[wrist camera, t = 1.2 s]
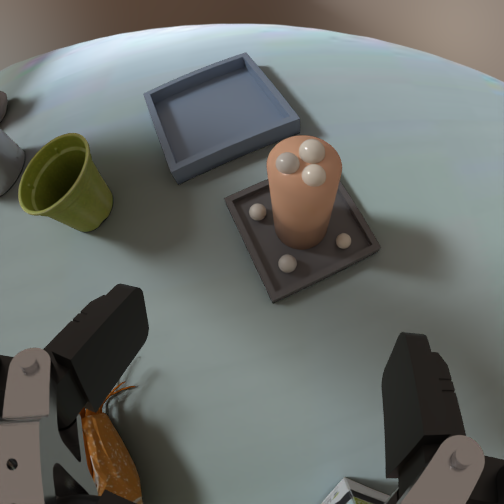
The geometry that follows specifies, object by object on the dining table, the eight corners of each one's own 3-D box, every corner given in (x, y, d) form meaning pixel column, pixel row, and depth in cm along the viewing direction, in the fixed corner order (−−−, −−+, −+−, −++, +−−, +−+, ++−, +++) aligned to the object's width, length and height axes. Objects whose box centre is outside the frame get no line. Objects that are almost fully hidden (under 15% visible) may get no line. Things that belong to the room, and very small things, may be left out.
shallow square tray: (178, 184, 33) (170, 172, 31) (149, 106, 38) (143, 93, 36) (299, 132, 34) (300, 118, 32) (248, 65, 39) (246, 52, 36)
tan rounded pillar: (288, 258, 29) (287, 201, 19) (265, 213, 31) (253, 142, 20) (336, 235, 29) (358, 171, 19) (311, 193, 31) (318, 117, 20)
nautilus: (88, 326, 30) (214, 394, 27) (34, 474, 23) (140, 547, 21) (45, 310, 23) (196, 403, 20) (-8, 486, 16) (112, 579, 13)
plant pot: (69, 182, 36) (30, 146, 28) (130, 167, 35) (96, 122, 27) (57, 250, 33) (10, 221, 25) (122, 239, 32) (78, 204, 24)
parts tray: (272, 303, 28) (271, 299, 26) (226, 203, 32) (222, 193, 30) (377, 251, 29) (383, 244, 27) (322, 162, 32) (324, 151, 30)
